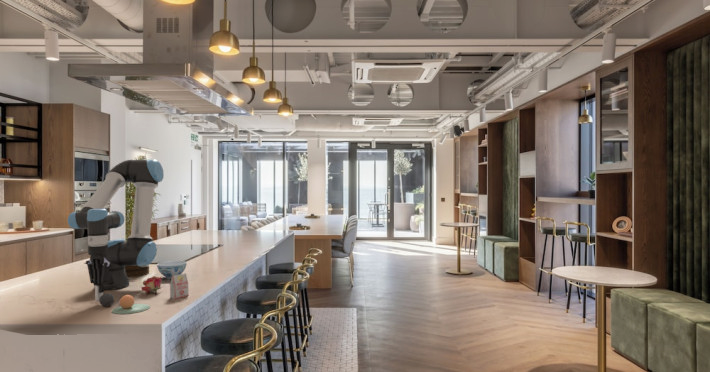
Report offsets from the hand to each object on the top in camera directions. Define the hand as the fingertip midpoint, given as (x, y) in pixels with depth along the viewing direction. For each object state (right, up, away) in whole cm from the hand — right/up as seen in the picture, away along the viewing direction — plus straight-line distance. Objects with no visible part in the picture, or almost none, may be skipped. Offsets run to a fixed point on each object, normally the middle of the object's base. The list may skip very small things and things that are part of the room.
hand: (99, 300), depth 196 cm
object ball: (+15, +1, -7) cm, 17 cm away
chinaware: (+10, -1, +52) cm, 53 cm away
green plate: (+17, -2, -8) cm, 19 cm away
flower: (+14, -2, +19) cm, 24 cm away
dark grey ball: (+5, +1, -3) cm, 6 cm away
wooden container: (-15, -1, +62) cm, 64 cm away
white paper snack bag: (+30, -2, +11) cm, 32 cm away
